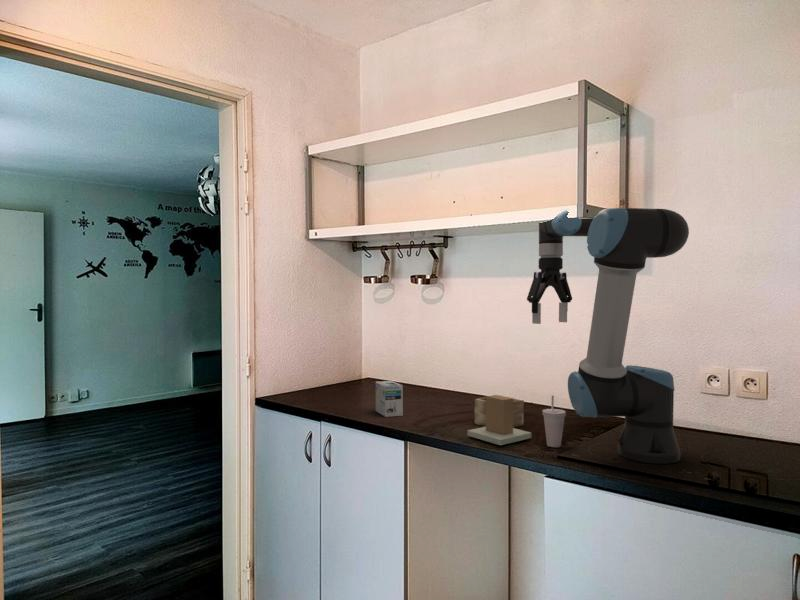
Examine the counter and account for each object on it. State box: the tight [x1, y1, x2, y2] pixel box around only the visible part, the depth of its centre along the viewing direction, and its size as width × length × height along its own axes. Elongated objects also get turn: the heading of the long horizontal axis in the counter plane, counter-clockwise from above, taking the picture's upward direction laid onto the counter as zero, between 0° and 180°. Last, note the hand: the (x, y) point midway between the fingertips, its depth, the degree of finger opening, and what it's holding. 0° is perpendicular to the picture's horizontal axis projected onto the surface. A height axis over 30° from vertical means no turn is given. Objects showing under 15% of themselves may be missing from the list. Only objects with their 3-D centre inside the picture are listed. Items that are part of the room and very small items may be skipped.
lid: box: [467, 394, 532, 446], centre depth 165 cm, size 13×13×12 cm
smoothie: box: [541, 395, 567, 448], centre depth 158 cm, size 6×6×14 cm
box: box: [474, 394, 525, 428], centre depth 182 cm, size 11×11×8 cm
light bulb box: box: [374, 380, 404, 418], centre depth 197 cm, size 11×7×11 cm, turn 22°
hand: (549, 323), depth 183 cm, fingers open, 13 cm apart
